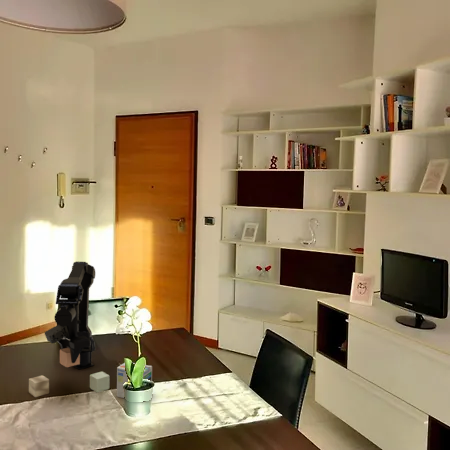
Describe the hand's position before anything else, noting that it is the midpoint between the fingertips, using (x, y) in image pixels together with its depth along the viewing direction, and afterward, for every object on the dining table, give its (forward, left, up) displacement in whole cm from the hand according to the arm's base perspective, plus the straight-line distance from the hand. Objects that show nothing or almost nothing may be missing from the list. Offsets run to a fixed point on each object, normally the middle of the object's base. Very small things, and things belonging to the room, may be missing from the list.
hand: (69, 360), depth 186 cm
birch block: (+9, -5, -11) cm, 15 cm away
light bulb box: (-15, +18, -11) cm, 26 cm away
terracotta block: (0, 0, -1) cm, 1 cm away
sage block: (-9, +5, -11) cm, 15 cm away
